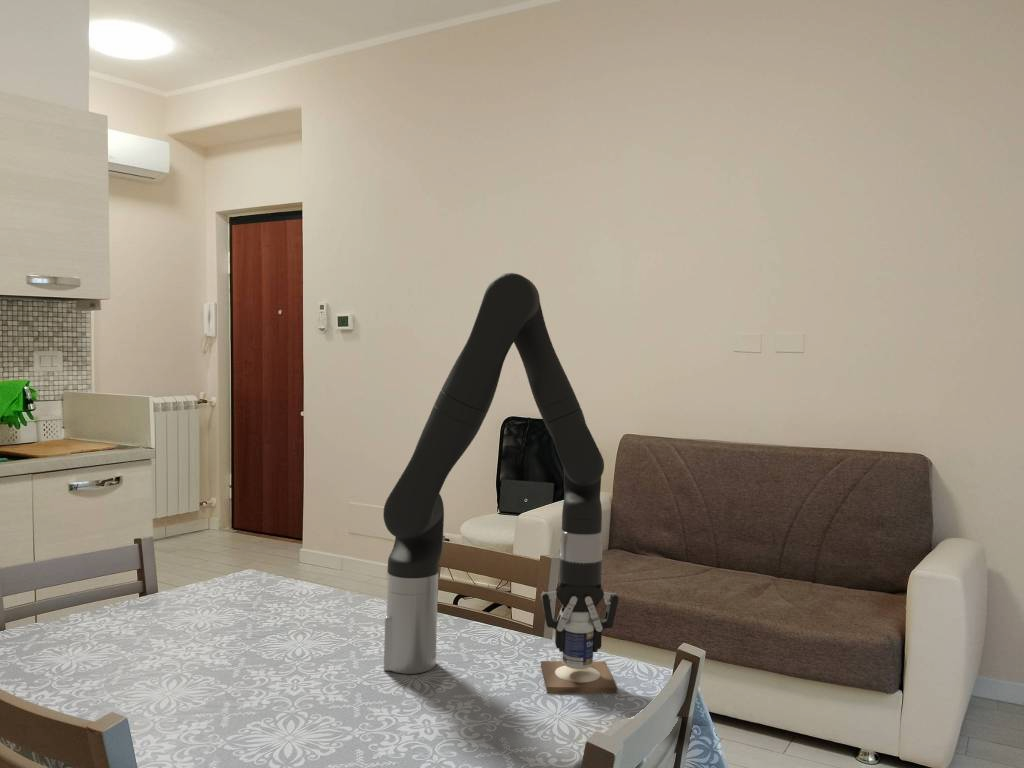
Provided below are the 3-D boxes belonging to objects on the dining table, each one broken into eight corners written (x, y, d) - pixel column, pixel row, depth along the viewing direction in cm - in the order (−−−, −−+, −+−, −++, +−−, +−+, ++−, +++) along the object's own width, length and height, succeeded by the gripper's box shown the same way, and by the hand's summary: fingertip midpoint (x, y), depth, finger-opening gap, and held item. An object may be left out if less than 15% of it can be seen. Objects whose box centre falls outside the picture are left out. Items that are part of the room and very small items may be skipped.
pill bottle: (591, 671, 139) (592, 615, 139) (560, 668, 140) (562, 613, 140) (594, 660, 144) (595, 606, 144) (564, 657, 145) (566, 604, 145)
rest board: (546, 692, 136) (547, 686, 136) (540, 666, 148) (540, 660, 148) (616, 693, 137) (617, 686, 137) (605, 666, 149) (605, 661, 149)
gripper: (542, 560, 138) (539, 658, 138) (624, 561, 138) (622, 658, 139) (538, 550, 145) (536, 643, 146) (617, 551, 146) (614, 643, 146)
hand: (578, 650), depth 142 cm, fingers closed on pill bottle, 5 cm apart
